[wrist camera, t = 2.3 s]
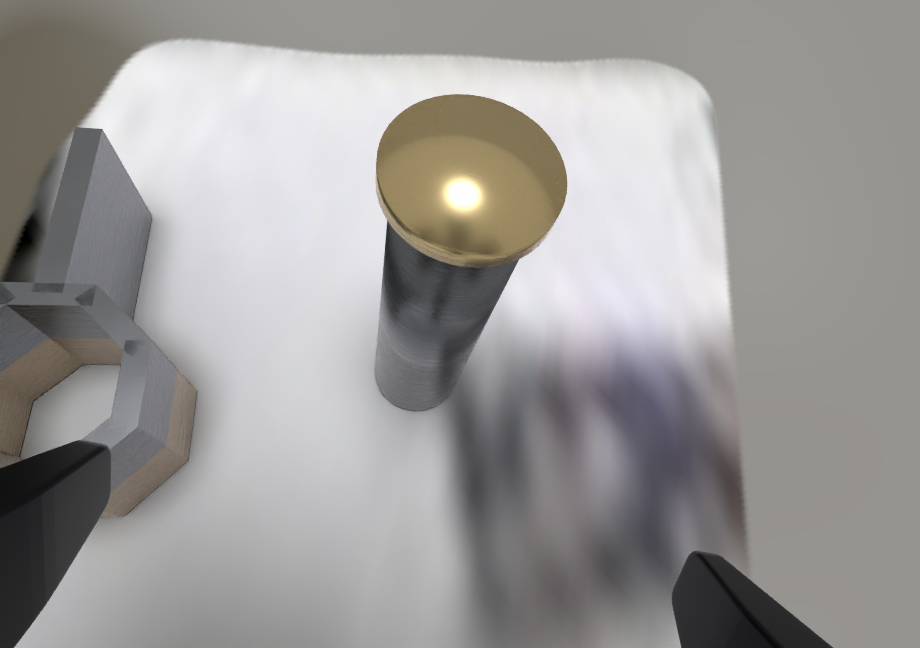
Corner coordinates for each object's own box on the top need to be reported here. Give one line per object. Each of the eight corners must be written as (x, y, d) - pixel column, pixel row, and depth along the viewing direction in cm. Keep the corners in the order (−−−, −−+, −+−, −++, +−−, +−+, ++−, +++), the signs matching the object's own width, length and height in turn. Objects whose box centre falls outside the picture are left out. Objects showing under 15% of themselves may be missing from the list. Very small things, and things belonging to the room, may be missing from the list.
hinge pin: (466, 418, 22) (579, 255, 11) (366, 419, 21) (376, 247, 10) (460, 327, 23) (554, 101, 12) (367, 326, 23) (376, 87, 12)
